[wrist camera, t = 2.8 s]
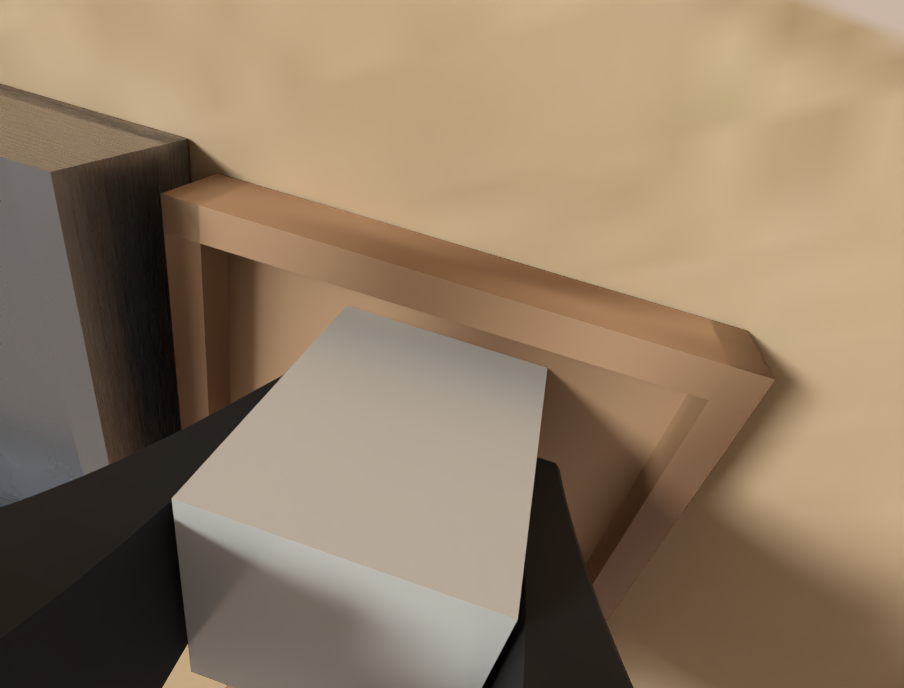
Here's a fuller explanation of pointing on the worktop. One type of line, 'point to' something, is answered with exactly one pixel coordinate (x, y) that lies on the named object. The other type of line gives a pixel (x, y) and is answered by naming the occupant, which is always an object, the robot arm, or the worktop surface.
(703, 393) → the walnut tray
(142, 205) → the metal bin
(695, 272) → the worktop surface
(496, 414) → the white block
